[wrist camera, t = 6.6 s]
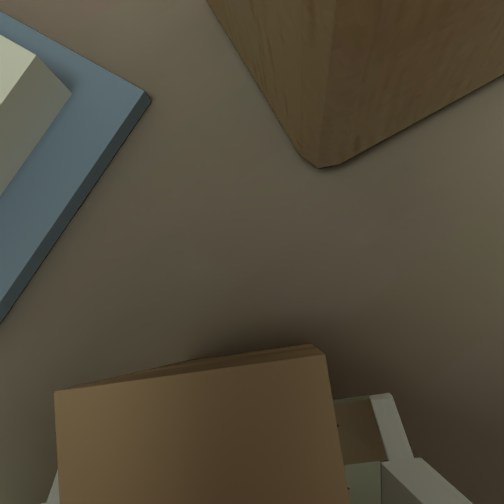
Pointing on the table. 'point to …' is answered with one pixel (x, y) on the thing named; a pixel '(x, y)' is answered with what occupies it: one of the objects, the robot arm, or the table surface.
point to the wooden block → (362, 63)
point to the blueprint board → (60, 157)
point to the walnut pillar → (204, 433)
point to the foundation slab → (24, 105)
